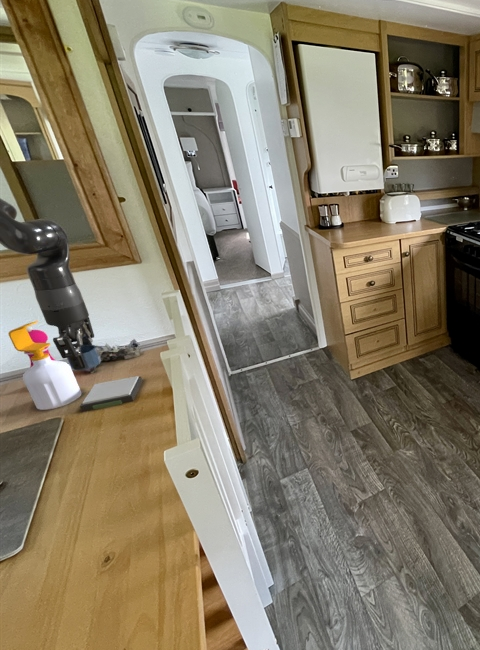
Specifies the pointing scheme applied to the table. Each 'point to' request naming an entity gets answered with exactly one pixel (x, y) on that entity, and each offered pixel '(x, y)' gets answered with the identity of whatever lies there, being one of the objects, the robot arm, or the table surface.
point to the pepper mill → (38, 341)
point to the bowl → (88, 357)
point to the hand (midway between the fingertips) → (85, 362)
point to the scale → (112, 393)
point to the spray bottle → (45, 373)
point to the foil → (117, 352)
